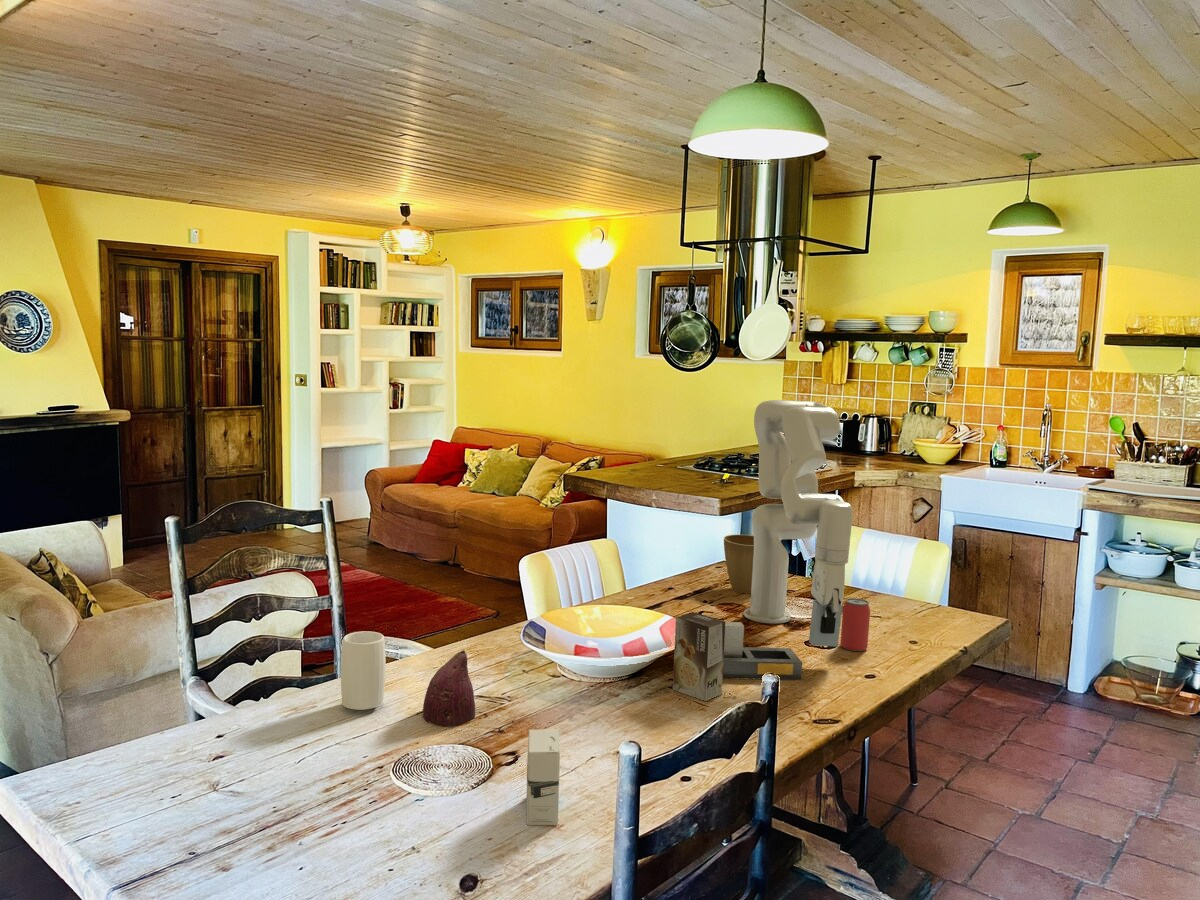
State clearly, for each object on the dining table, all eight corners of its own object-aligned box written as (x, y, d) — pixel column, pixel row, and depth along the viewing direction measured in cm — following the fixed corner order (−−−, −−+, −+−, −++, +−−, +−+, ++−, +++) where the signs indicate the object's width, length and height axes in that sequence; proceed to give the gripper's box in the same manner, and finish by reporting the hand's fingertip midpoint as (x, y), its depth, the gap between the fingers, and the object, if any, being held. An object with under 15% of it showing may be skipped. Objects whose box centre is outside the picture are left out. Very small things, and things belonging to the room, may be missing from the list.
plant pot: (719, 595, 269) (722, 542, 267) (721, 582, 284) (724, 532, 282) (770, 599, 267) (773, 546, 265) (769, 586, 281) (772, 536, 279)
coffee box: (723, 694, 191) (727, 621, 189) (705, 702, 186) (709, 627, 185) (688, 682, 197) (692, 611, 196) (670, 689, 193) (674, 616, 191)
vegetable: (480, 726, 178) (503, 655, 177) (455, 740, 168) (480, 665, 167) (435, 704, 181) (458, 634, 180) (408, 716, 171) (433, 643, 170)
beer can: (864, 644, 229) (868, 598, 227) (869, 653, 222) (873, 605, 221) (838, 642, 229) (841, 596, 228) (842, 651, 223) (846, 603, 221)
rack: (696, 663, 210) (699, 617, 208) (790, 664, 211) (793, 619, 210) (704, 678, 200) (707, 630, 199) (802, 680, 202) (806, 632, 200)
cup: (370, 695, 182) (371, 627, 181) (393, 708, 176) (394, 638, 175) (332, 706, 176) (332, 636, 175) (354, 720, 170) (354, 647, 169)
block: (808, 640, 213) (813, 600, 211) (833, 641, 213) (838, 601, 212) (812, 645, 210) (817, 604, 208) (837, 646, 210) (842, 605, 209)
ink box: (525, 798, 144) (528, 727, 143) (556, 798, 145) (559, 727, 143) (525, 826, 136) (528, 751, 134) (558, 826, 136) (561, 751, 135)
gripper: (805, 544, 216) (799, 617, 219) (826, 563, 200) (819, 642, 203) (836, 545, 217) (829, 618, 219) (859, 564, 200) (852, 643, 203)
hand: (824, 629), depth 211 cm, fingers closed on block, 3 cm apart
